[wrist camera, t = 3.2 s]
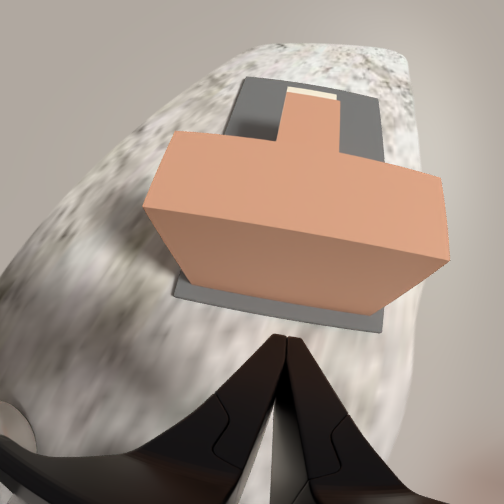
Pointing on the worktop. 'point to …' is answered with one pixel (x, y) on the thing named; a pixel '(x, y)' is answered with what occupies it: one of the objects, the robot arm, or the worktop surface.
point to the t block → (297, 215)
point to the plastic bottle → (16, 427)
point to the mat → (266, 128)
